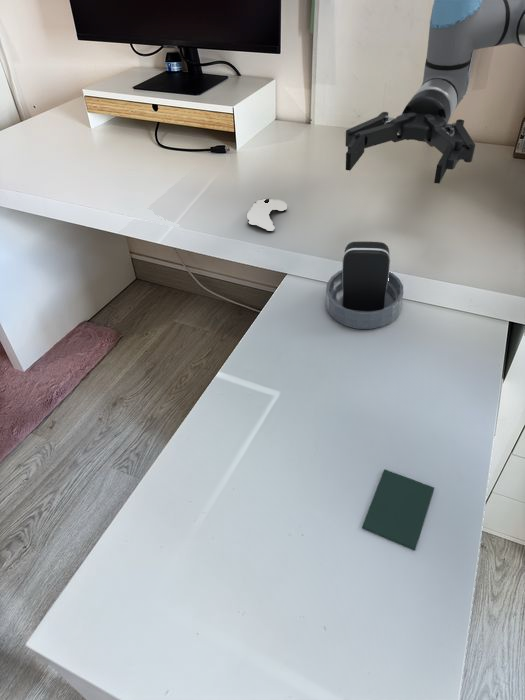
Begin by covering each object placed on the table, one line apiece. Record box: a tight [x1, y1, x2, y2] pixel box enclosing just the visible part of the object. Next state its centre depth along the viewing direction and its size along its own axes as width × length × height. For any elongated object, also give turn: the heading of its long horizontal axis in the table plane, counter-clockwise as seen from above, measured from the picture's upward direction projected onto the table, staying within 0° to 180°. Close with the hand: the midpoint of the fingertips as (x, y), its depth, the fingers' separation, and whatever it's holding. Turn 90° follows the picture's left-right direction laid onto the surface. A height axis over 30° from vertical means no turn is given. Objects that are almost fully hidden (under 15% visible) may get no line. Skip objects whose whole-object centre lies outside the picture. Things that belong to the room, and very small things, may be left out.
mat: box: [361, 468, 435, 551], centre depth 58 cm, size 6×8×1 cm
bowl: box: [325, 269, 404, 330], centre depth 81 cm, size 12×12×4 cm
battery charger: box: [341, 241, 391, 310], centre depth 78 cm, size 7×4×11 cm, turn 79°
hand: (391, 168), depth 75 cm, fingers open, 13 cm apart
